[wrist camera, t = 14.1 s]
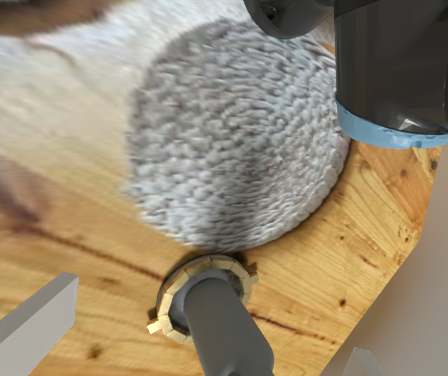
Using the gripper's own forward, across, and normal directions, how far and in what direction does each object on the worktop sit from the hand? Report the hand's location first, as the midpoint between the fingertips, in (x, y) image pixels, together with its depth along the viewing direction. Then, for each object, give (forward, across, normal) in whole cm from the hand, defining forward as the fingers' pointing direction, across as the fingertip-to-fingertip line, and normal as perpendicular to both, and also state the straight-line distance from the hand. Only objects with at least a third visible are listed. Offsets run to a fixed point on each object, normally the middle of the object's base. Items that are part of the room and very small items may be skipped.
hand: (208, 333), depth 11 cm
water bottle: (+30, 0, -21) cm, 37 cm away
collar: (+31, 0, -22) cm, 38 cm away
